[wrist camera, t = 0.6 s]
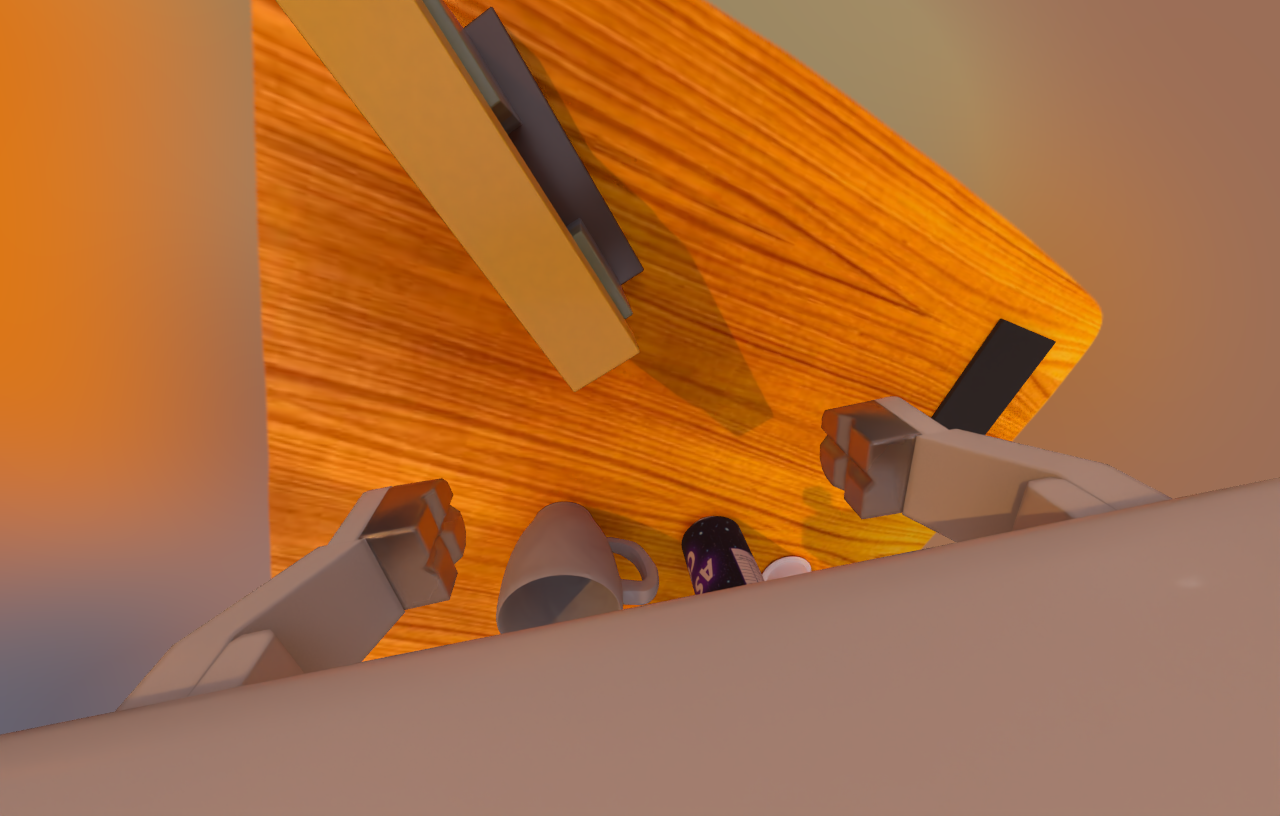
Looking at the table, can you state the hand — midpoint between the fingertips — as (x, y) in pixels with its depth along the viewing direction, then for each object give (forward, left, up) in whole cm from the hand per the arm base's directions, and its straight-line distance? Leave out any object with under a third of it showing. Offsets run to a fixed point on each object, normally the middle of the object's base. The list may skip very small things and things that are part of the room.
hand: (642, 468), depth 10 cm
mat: (-20, +28, -24) cm, 42 cm away
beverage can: (+4, +26, -24) cm, 35 cm away
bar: (+1, -6, -14) cm, 15 cm away
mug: (+13, +18, -24) cm, 32 cm away
